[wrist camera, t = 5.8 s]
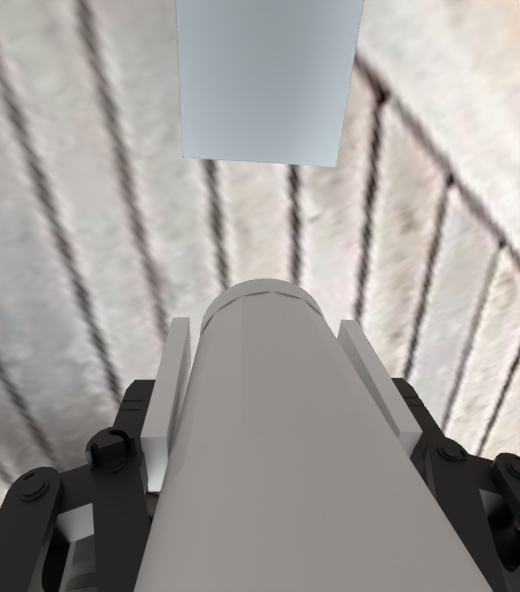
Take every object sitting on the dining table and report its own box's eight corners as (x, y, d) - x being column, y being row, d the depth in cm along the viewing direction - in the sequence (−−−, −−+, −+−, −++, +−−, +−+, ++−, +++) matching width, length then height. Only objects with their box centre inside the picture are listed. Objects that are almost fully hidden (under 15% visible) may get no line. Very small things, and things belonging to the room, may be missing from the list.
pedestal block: (190, 148, 26) (182, 157, 21) (185, -27, 21) (172, -63, 16) (318, 157, 26) (335, 166, 22) (342, -9, 22) (370, -38, 17)
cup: (276, 409, 20) (327, 742, 9) (154, 351, 17) (37, 730, 7) (371, 316, 17) (593, 640, 7) (245, 228, 14) (286, 549, 4)
